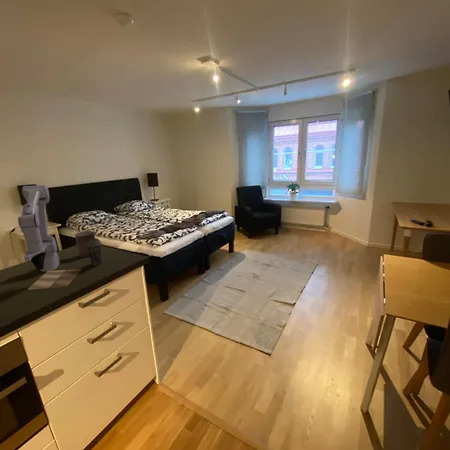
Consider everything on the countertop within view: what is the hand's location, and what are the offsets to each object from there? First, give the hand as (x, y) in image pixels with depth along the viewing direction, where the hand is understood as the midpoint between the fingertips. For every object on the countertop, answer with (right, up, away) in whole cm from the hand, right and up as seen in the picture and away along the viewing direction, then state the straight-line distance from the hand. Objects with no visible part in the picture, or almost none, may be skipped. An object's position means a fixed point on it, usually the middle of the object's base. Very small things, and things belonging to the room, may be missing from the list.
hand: (40, 269), depth 114 cm
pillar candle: (+3, +2, +34) cm, 35 cm away
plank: (+1, -6, +4) cm, 7 cm away
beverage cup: (+16, -2, +20) cm, 26 cm away
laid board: (+9, -6, +5) cm, 12 cm away
